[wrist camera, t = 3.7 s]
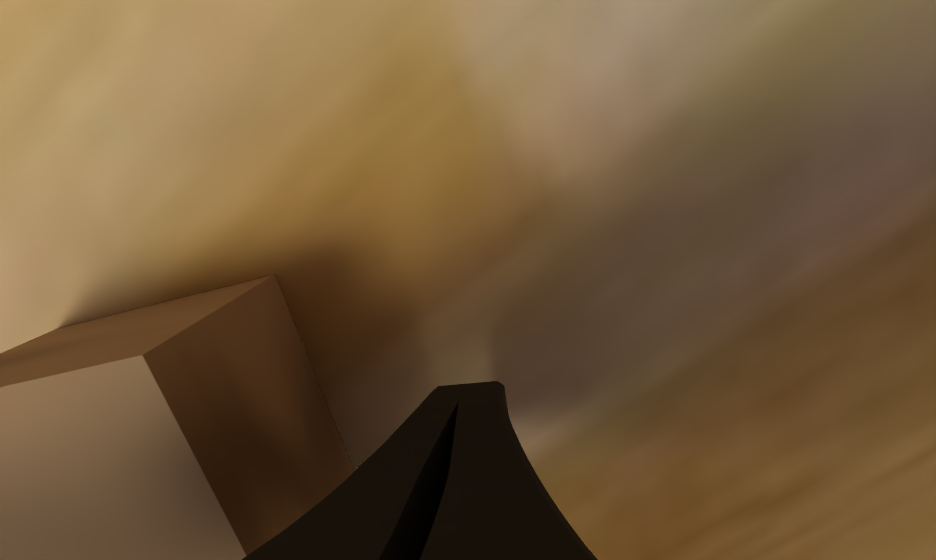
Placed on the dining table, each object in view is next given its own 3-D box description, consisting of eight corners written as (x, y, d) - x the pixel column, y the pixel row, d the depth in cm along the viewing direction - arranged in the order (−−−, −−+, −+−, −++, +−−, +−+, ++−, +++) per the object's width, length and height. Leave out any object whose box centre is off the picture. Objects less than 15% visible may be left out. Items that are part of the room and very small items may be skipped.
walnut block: (364, 485, 12) (294, 649, 8) (170, 515, 13) (29, 671, 9) (278, 271, 10) (142, 355, 7) (63, 325, 11) (-160, 423, 8)
